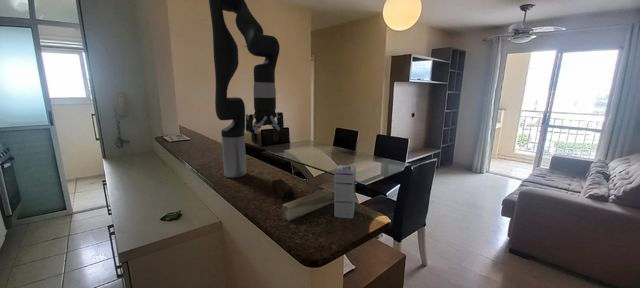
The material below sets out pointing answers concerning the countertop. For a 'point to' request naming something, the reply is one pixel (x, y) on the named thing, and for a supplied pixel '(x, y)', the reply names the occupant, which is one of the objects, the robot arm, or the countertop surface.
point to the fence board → (306, 204)
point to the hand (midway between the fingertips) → (265, 141)
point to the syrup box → (344, 191)
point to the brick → (282, 190)
